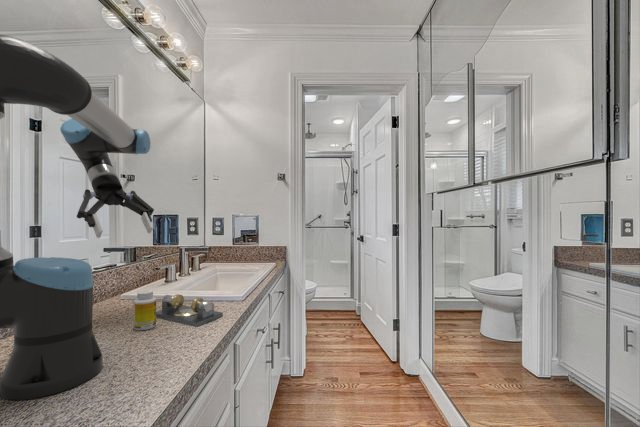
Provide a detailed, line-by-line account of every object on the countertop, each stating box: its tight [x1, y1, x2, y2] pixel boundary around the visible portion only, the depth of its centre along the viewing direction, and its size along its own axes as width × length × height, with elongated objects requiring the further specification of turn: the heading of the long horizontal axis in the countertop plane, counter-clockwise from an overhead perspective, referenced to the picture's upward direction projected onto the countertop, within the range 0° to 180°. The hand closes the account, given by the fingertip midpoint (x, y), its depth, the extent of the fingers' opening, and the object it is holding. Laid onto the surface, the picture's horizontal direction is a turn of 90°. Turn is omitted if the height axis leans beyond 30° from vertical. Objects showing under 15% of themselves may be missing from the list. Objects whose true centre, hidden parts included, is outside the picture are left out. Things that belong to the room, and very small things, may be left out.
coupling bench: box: [156, 294, 224, 328], centre depth 96 cm, size 10×20×6 cm, turn 64°
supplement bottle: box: [133, 289, 157, 331], centre depth 86 cm, size 6×6×10 cm
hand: (126, 232), depth 89 cm, fingers open, 13 cm apart
